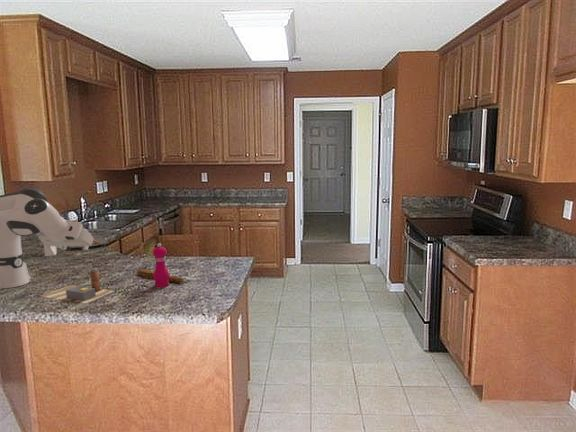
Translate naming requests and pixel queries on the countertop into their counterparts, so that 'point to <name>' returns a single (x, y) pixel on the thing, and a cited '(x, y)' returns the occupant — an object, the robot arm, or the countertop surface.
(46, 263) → the countertop surface
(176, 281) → the tap handle
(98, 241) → the serving board
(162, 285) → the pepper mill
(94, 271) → the awl
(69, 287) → the subfloor panel
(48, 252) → the skyscraper
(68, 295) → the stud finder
